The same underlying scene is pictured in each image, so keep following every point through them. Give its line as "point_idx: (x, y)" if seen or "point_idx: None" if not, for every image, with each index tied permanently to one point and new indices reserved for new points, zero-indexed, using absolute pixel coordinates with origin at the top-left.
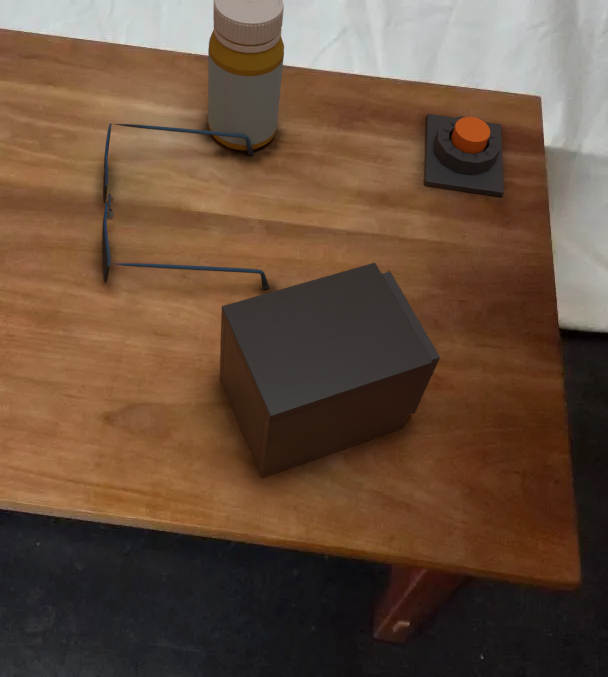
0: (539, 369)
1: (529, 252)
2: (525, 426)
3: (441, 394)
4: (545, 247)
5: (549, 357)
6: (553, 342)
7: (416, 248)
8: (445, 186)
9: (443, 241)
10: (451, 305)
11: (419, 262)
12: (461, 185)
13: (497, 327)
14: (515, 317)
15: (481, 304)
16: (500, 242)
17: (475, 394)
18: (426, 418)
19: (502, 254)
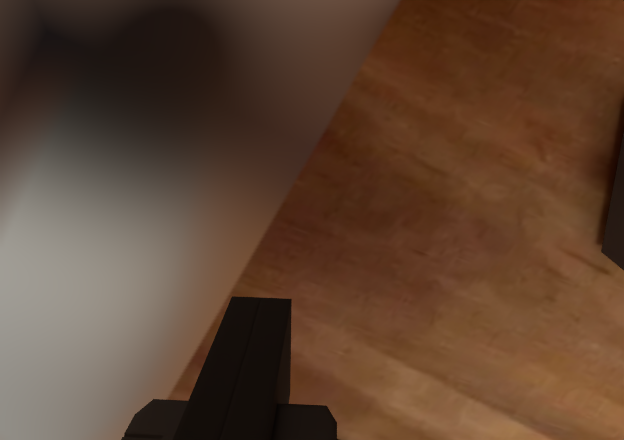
0: (375, 98)
1: (262, 292)
2: (462, 13)
3: (552, 117)
4: (232, 291)
5: (346, 111)
6: (323, 134)
7: (429, 357)
8: None
9: (382, 354)
10: (439, 251)
11: (440, 334)
12: None
13: (394, 191)
14: (355, 197)
15: (393, 236)
16: (297, 323)
17: (502, 97)
18: (601, 88)
19: (307, 303)
